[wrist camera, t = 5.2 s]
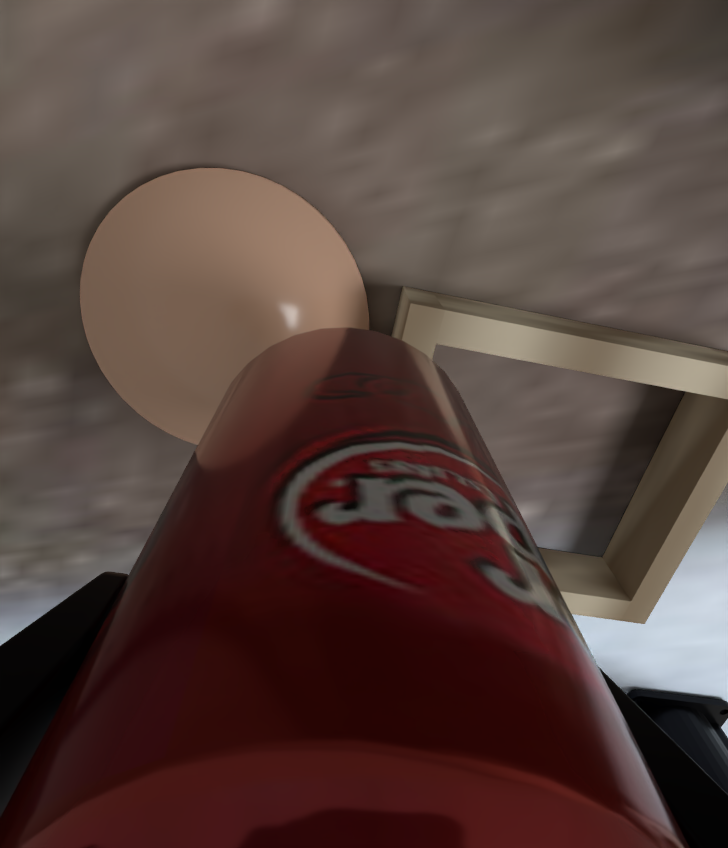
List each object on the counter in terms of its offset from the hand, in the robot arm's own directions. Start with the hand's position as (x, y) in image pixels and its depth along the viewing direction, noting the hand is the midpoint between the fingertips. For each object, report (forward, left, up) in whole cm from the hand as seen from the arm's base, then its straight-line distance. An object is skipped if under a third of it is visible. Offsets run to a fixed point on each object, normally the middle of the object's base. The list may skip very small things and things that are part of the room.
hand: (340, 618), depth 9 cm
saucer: (+5, -1, -14) cm, 14 cm away
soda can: (0, 0, -7) cm, 7 cm away
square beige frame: (-9, +3, -14) cm, 16 cm away
